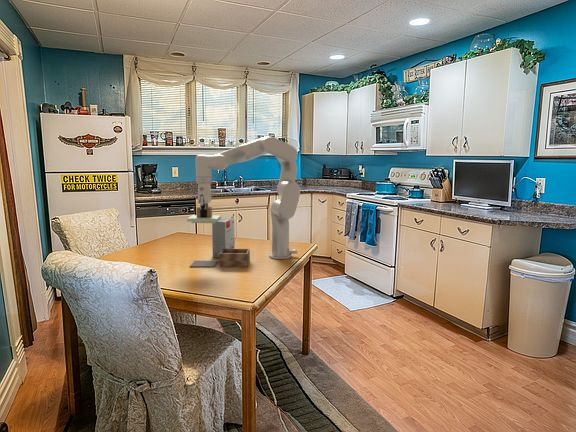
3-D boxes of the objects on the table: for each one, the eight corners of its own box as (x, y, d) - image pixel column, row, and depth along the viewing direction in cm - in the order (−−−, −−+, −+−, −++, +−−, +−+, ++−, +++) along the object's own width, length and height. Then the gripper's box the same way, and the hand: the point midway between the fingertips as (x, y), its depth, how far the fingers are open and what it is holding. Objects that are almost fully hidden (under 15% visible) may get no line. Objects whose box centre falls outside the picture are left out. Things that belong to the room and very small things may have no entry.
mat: (217, 261, 193) (217, 260, 193) (213, 267, 183) (213, 266, 183) (194, 261, 193) (194, 260, 193) (189, 267, 183) (189, 266, 183)
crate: (249, 261, 193) (249, 248, 192) (247, 267, 183) (247, 253, 182) (223, 261, 193) (222, 248, 192) (219, 267, 183) (219, 253, 182)
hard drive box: (225, 258, 200) (224, 222, 196) (212, 257, 201) (211, 221, 198) (235, 251, 215) (234, 217, 211) (222, 250, 216) (221, 217, 213)
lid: (220, 220, 190) (220, 205, 189) (217, 223, 179) (217, 208, 178) (192, 219, 190) (192, 205, 188) (187, 223, 179) (186, 208, 178)
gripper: (208, 181, 173) (208, 219, 176) (214, 179, 189) (215, 214, 192) (192, 181, 173) (193, 219, 176) (199, 179, 189) (200, 214, 192)
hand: (204, 216), depth 184 cm, fingers closed on lid, 3 cm apart
